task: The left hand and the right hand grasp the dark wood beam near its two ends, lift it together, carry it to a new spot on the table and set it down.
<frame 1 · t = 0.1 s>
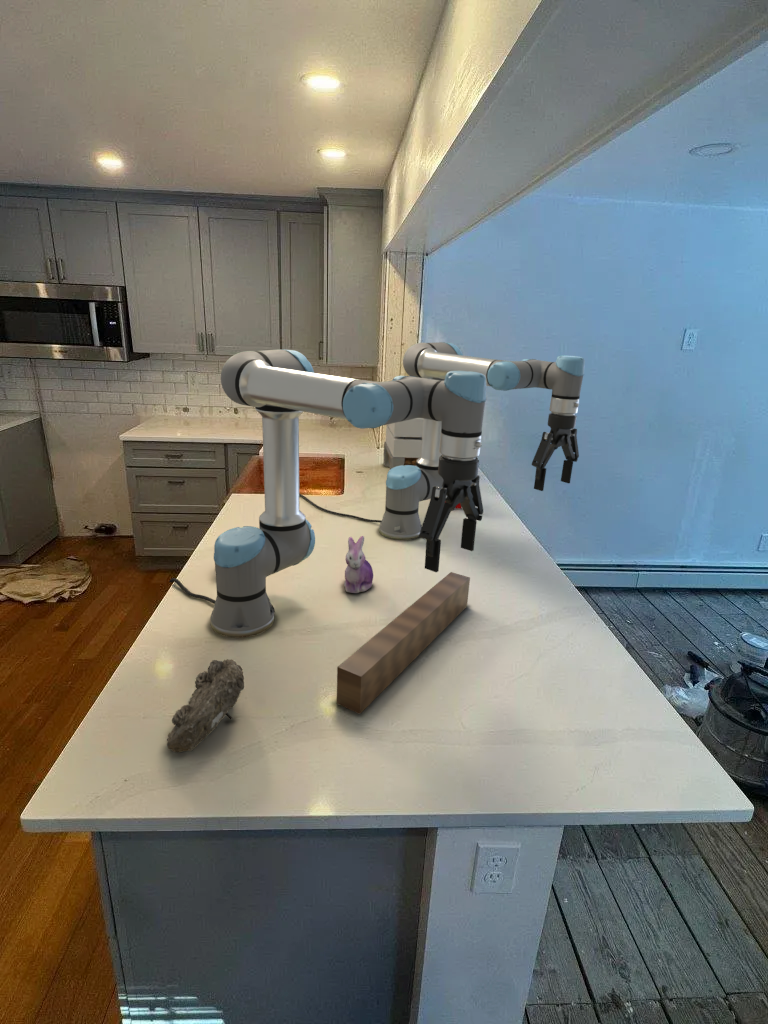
left hand: (450, 559, 114), 28 cm above the counter, tool pointing down, fingers open, 13 cm apart
right hand: (552, 485, 166), 28 cm above the counter, tool pointing down, fingers open, 13 cm apart
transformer: (419, 473, 275), on the counter
beam: (411, 647, 133), on the counter
figurine: (358, 587, 161), on the counter
fossil: (212, 717, 108), on the counter
toy: (445, 498, 240), on the counter
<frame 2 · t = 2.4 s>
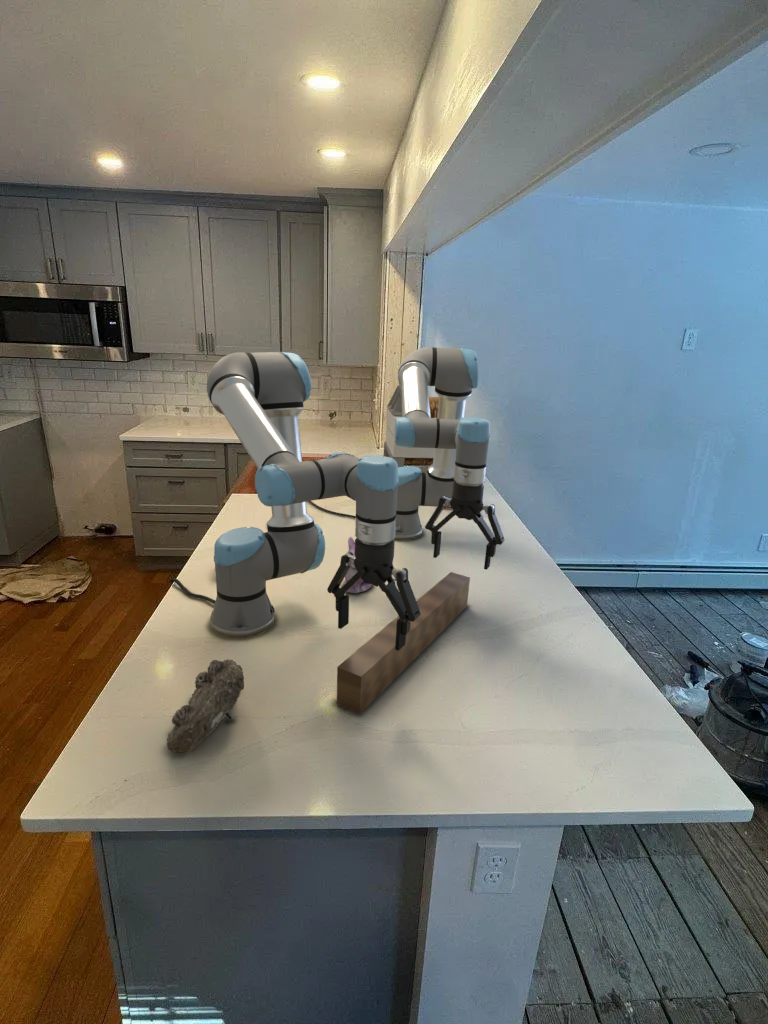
left hand: (370, 636, 114), 13 cm above the counter, tool pointing down, fingers open, 13 cm apart
right hand: (461, 561, 145), 14 cm above the counter, tool pointing down, fingers open, 13 cm apart
nothing on the counter moved.
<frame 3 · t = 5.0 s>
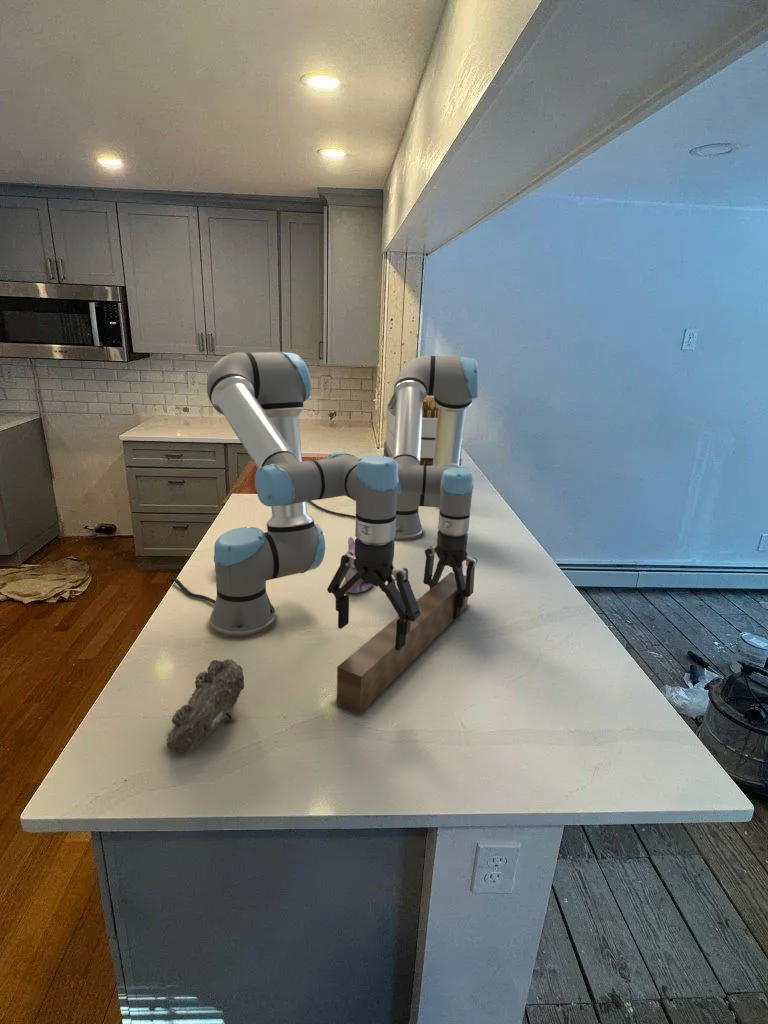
left hand: (370, 636, 114), 13 cm above the counter, tool pointing down, fingers open, 13 cm apart
right hand: (445, 613, 148), 1 cm above the counter, tool pointing down, fingers closed on beam, 6 cm apart
beam: (411, 647, 133), on the counter, touching right hand
everything else where it was.
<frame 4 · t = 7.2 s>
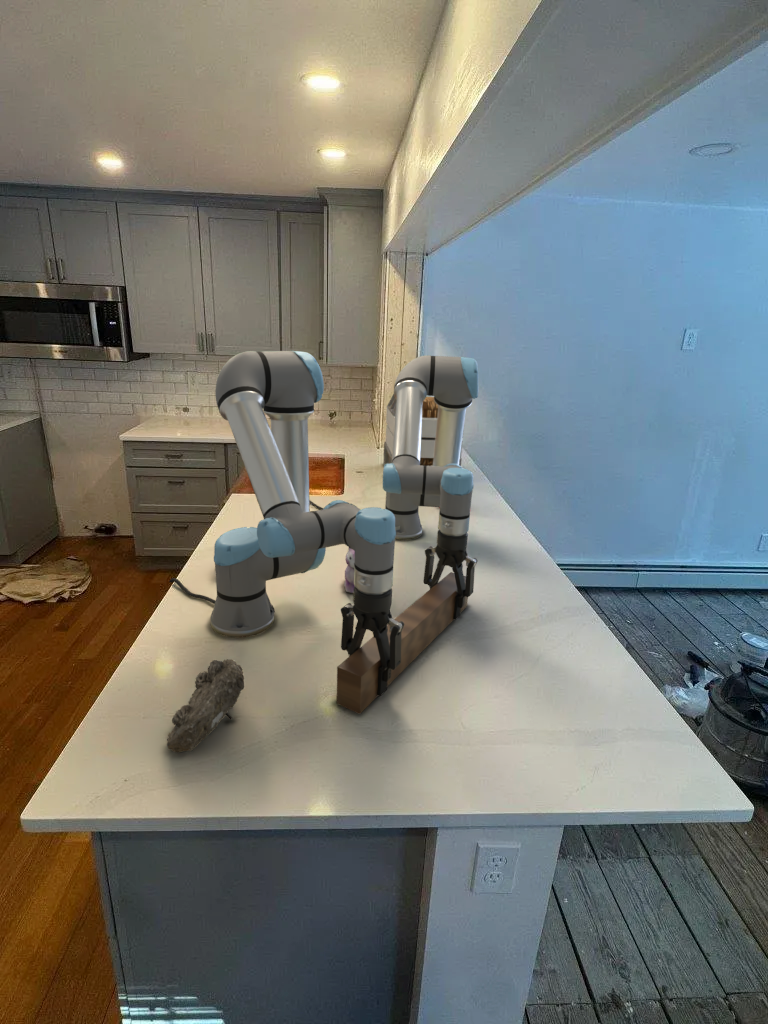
left hand: (369, 686, 118), 1 cm above the counter, tool pointing down, fingers closed on beam, 6 cm apart
right hand: (445, 613, 148), 1 cm above the counter, tool pointing down, fingers closed on beam, 6 cm apart
beam: (411, 647, 133), on the counter, touching right hand, left hand
everything else where it was.
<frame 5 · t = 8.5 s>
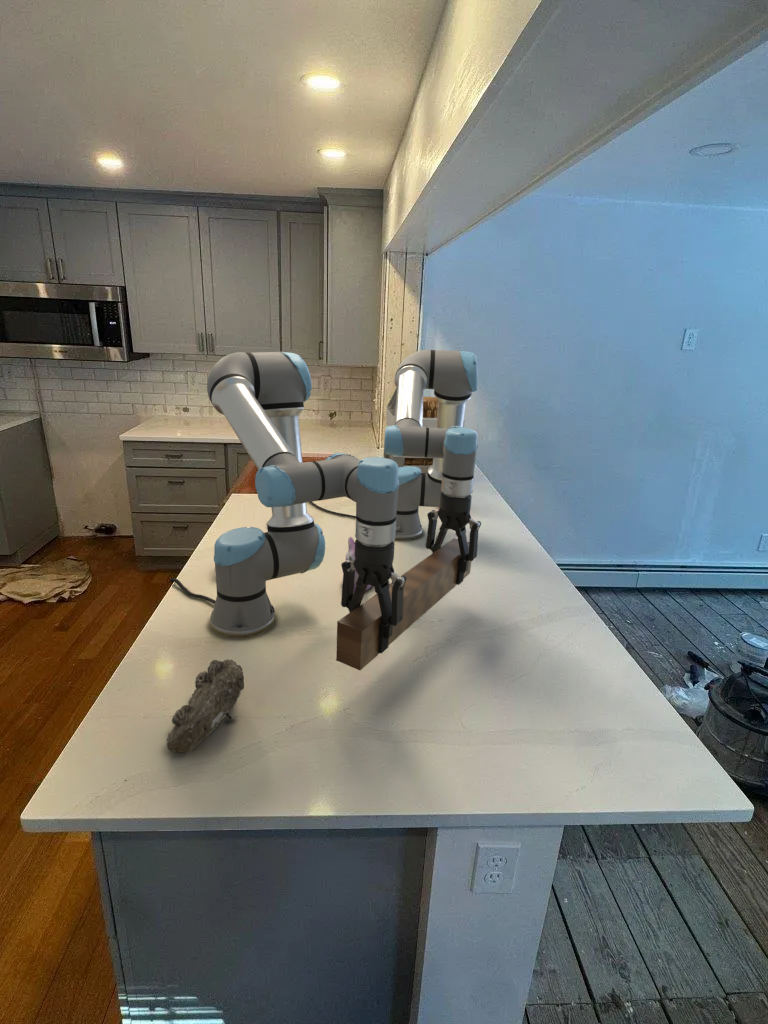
left hand: (369, 644, 115), 10 cm above the counter, tool pointing down, fingers closed on beam, 6 cm apart
right hand: (448, 578, 145), 10 cm above the counter, tool pointing down, fingers closed on beam, 6 cm apart
beam: (413, 610, 130), point 10 cm above the counter, touching right hand, left hand
everything else where it was.
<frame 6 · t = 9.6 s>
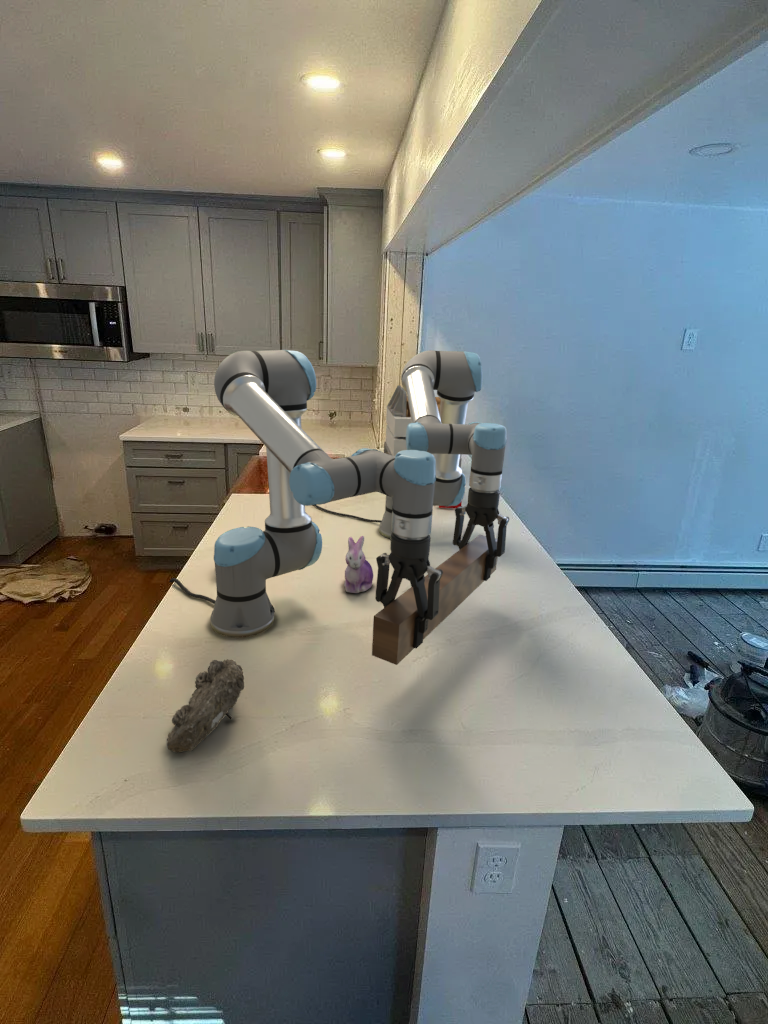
left hand: (404, 639, 114), 12 cm above the counter, tool pointing down, fingers closed on beam, 6 cm apart
right hand: (475, 575, 144), 12 cm above the counter, tool pointing down, fingers closed on beam, 6 cm apart
beam: (443, 606, 130), point 11 cm above the counter, touching right hand, left hand
everything else where it was.
when the left hand's fingers open (2 cm above the counter, at t = 12.3 s): beam drops 1 cm, on the counter.
when the right hand's fingers open (2 cm above the counter, at t = 12.4 s): beam drops 1 cm, on the counter.
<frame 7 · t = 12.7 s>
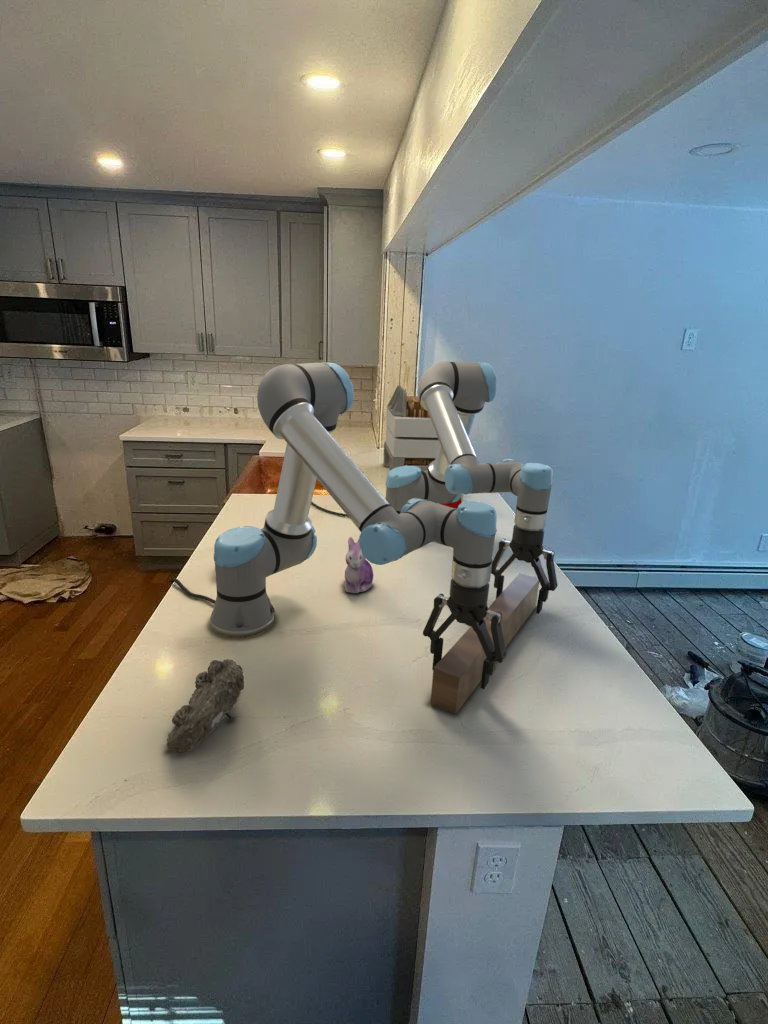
left hand: (460, 676, 118), 3 cm above the counter, tool pointing down, fingers open, 10 cm apart
right hand: (518, 605, 148), 3 cm above the counter, tool pointing down, fingers open, 10 cm apart
beam: (490, 648, 134), on the counter
everything else where it was.
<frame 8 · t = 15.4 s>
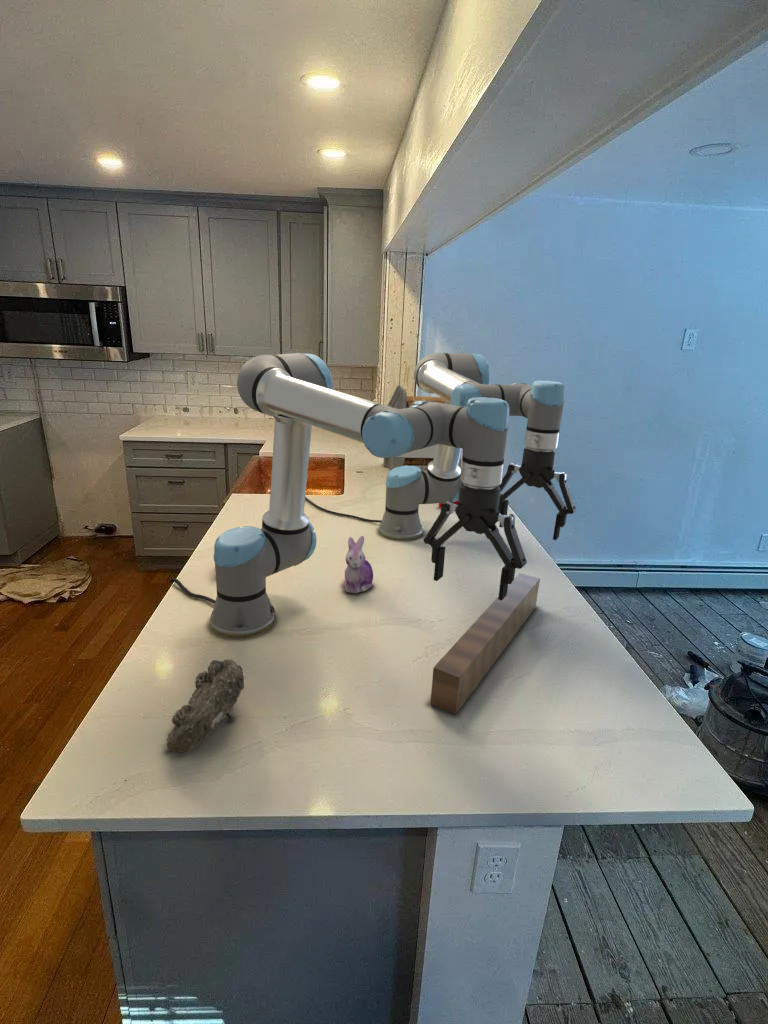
left hand: (469, 587, 111), 24 cm above the counter, tool pointing down, fingers open, 13 cm apart
right hand: (528, 532, 141), 24 cm above the counter, tool pointing down, fingers open, 13 cm apart
nothing on the counter moved.
at the end: beam inside the target area (0.0 cm from its centre), on the counter; beam tilted 0°; beam never tilted more than 1° during the clip; both hands held the beam at the same time; the left hand is holding nothing; the right hand is holding nothing; beam at rest at the end (0.0 cm/s) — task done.
